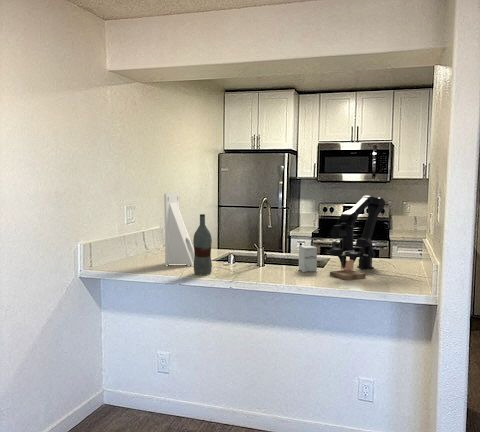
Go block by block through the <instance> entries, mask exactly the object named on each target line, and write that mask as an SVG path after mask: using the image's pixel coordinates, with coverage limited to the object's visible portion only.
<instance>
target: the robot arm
mask: <svg viewBox="0 0 480 432" xmlns="http://www.w3.org/2000/svg"><path fill="white" fill-rule="evenodd" d="M385 205H386V201H385V199H384V198H383V197H375V196H372V195H363V196H362V197H361V199H360V200H358V202H356V203H355V204H354V205H353V206H352V208H350V209H348V210H345V211H344V212H342V213H341V214H340V216H339V219H338V220H337V222H336V224H334V225H333V227H332V228H331V230H330V231H329V233H330V234H329V235H330V237H331V238H332V239H334V240H335V239H337V240H338V239H339V242H338V241H336V240H335V241H331V247H332V248H330V250H329V254H330V255H334V256H337V257H338V260H339V262H340V266H341V265H342V267H343V268H344V267H345V263H346V259H347V256H348V257H349V259H350V260H354V263H355V262H356V260H357V258H358V257H359V259H358V265H357V266H356V268H360V269H363V270H369V269H374V268H375V267H374V266H373V258H375V257H376V252H375V250H374V248H373V245H374V244H373V240H372V238H373V234H374V231H375V227H376V224H377V220H378V218H379V215H380V213H382V212H383V210H384V208H385ZM366 208H367V210H368V215H367V218H366V222H365V226H364V228H363V232H362V235H361V237H360V238H357V239H354V229H357V226H356V225H355V223H356V222H357V220H358V218H359V215H360V214H361V213H363V211H364V210H365V209H366ZM354 242H356V243H355V245H354ZM347 253H348V255H347Z"/></svg>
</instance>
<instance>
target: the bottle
mask: <svg viewBox="0 0 480 432" xmlns="http://www.w3.org/2000/svg"><path fill="white" fill-rule="evenodd" d="M212 242H213V239H212V234H211V232H210V230H209V228H208V227H207V225H206V214H205V213H201V214H199V225H198V227H197V228H196V231H195V232H194V234H193V241H192V245H193V248H194V254H195V257H194V263H193V264H194V265H193V266H192V267H193V272H194V275H196V274H202V275H201V276H205V275H204V274H209V275H211V274H212V268H213V263H212ZM210 273H211V274H210Z"/></svg>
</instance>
